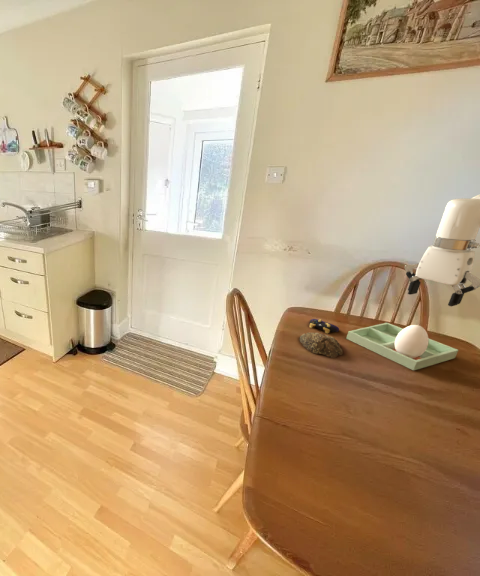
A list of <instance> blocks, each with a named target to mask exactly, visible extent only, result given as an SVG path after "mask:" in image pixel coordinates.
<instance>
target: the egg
mask: <svg viewBox="0 0 480 576" xmlns="http://www.w3.org/2000/svg"><path fill="white" fill-rule="evenodd" d="M428 338H429V335H428V332H427V331H426V329H425V327H423V326H421V325H419V324H411V325H408V326H406V327H403V330H401V331H400V332H399V334H398V335H397V337H396V339H395V349H396V351H397V352H398V353H400V354H403V355H405V356H407V357H409V358H416V357H418V356H420V355H422V354H423V353H424V352H425V351H426V349H427V346H428V342H429V340H428Z"/></svg>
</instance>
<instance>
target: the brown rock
mask: <svg viewBox="0 0 480 576" xmlns="http://www.w3.org/2000/svg"><path fill="white" fill-rule="evenodd" d="M299 342H300V344H301V346H303V347H304V348H305V349H306V350H307V351H309V352H311V353H313V354H315V355H322V356H325V357H327V358H337V357H338V356H342V355H343V349H342V348H341V346H340V342H338V340H337V339H336V338H335V337H333V336H329V335H328V334H327V335H326V334H324V333H320V332H306V333H303V334H300V336H299Z"/></svg>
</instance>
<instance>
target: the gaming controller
mask: <svg viewBox="0 0 480 576" xmlns="http://www.w3.org/2000/svg"><path fill="white" fill-rule="evenodd" d="M308 325H309V328H311V329H314V328H315V329H317V330H319V331H323V332H324V334H331V333H338V332H340V331H339V330H340V327H339V326H337V325H334V324H332V323H330V322H326V321H324V320H322V318H321V319H320V318H319V319H318V318H311V319H310V320H309V324H308Z"/></svg>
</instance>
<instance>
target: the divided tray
mask: <svg viewBox="0 0 480 576" xmlns="http://www.w3.org/2000/svg"><path fill="white" fill-rule="evenodd" d="M403 329H404V327H403V328H402V327H400V326H397V325H395V324H392V323H389V322H384V323H379V324H378V323H377V324H375V325H370V326H366V327H361V328H357V329H353V330H349V331H348V332H347V335H346V338H345V339H346V340H348V341H350V342H352V343H354V344H356V345H359V346H361V347H363V348H365V349H367V350H369V351H371V352H373V353H375V354H377V355H380V356H382V357H384V358H386V359H388V360H390V361H392V362H394V363H396V364H399V365H400V366H403V367H405V368H407V369H409V370H412V371H417V370H421V369H423V368H427V367H430V366H433V365H437V364H439V363H443V362H446V361H447V362H448V361H449V360H453V359H456V357H457V354H458V352H459V349H457V348H455V347H452V346H449V345H447V344H445V343H441V342H439V341H436V340H434V339H431V338H429V337H428V340H429V342H428V346H427V349H426V351H425V352H424V353H423V354H422V355H420V356H418V357H416V358H409V357H407V356H405V355H403V354H400V353H398V352H397V351H396V349H395V339H396V337H397V335H398V334H399V332H400V331H401V330H403Z"/></svg>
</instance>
